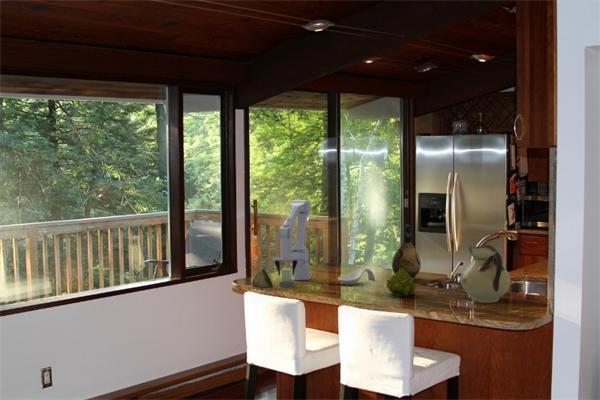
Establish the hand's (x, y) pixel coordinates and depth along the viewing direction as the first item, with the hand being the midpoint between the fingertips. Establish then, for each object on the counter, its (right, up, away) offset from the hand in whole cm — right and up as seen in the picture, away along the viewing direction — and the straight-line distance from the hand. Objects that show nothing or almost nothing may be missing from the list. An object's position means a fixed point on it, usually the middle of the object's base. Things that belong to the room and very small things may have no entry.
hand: (286, 275), depth 386 cm
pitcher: (+94, -7, -48) cm, 106 cm away
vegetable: (+57, -7, -32) cm, 66 cm away
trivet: (0, -6, 0) cm, 6 cm away
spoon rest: (+38, -5, +4) cm, 38 cm away
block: (0, -3, 0) cm, 3 cm away
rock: (-13, -6, -1) cm, 14 cm away
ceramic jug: (+66, -4, +11) cm, 67 cm away
